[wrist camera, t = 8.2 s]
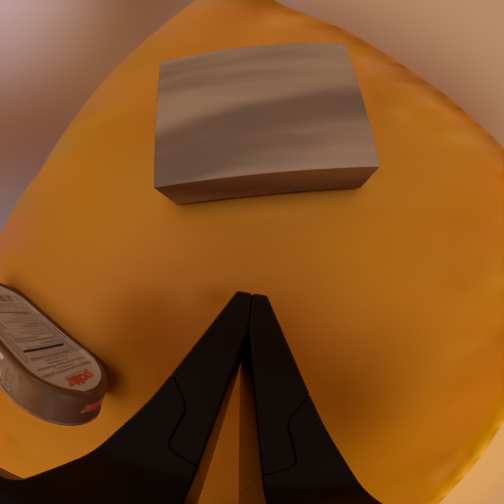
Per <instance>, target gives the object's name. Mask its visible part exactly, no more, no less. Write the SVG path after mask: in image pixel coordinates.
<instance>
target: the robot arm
mask: <svg viewBox="0 0 504 504" xmlns="http://www.w3.org/2000/svg"><path fill="white" fill-rule="evenodd" d="M240 363H241V369H240V433H239V495H240V496H239V504H382V503H380V502H379V501H378V500H376V499H375V498H374V497H372V496H371V495H370V494H369V493H368V492H367V491H366V490H365V489H364V488H363V487H362V486H361V484H360V483H359V482H358V480H357V479H356V478H355V476H354V474H353V473H352V471H351V470H350V468H349V466H348V465H347V463H346V462H345V460H344V458H343V457H342V455H341V454H340V452H339V450H338V449H337V447H336V445H335V444H334V442H333V440H332V439H331V437H330V435H329V433H328V432H327V430H326V428H325V426H324V425H323V422H322V420H321V418H320V416H319V414H318V412H317V410H316V408H315V405H314V403H313V401H312V399H311V397H310V396H308V395H309V392H308V390H307V387H306V385H305V383H304V380H303V378H302V376H301V374H300V371H299V369H298V367H297V364H296V362H295V360H294V357H293V355H292V353H291V350H290V348H289V346H288V343H287V341H286V339H285V337H284V334H283V332H282V330H281V327H280V325H279V323H278V320H277V318H276V316H275V313H274V311H273V309H272V306H271V304H270V302H269V299H268V297H267V296H265V295H259V294H253V295H251V293H247V292H241V291H238V292H236V293H235V295H234V296H233V297H232V299H231V300H230V301H229V302H228V304H227V305H226V306H225V307H224V309H223V310H222V311H221V313H220V314H219V315H218V316H217V318H216V319H215V320H214V321H213V323H212V324H211V325H210V327H209V328H208V329H207V330H206V332H205V333H204V334H203V335H202V337H201V338H200V339H199V340H198V342H197V343H196V344H195V345H194V347H193V348H192V349H191V350H190V352H189V353H188V354H187V355H186V357H185V358H184V359H183V360H182V362H181V363H180V364H179V365H178V367H177V368H176V369H175V370H174V372H173V373H172V375H171V376H169V378H168V379H167V380H166V381H165V383H164V384H163V385H162V386H161V388H160V389H159V390H158V391H157V392H156V393H155V394H154V396H153V397H152V398H151V399H150V400H149V401H148V402H147V403H146V404H145V405H144V406H143V407H142V408H141V409H140V410H139V411H138V412H137V413H136V414H135V415H134V416H133V417H132V418H130V419H129V420H128V421H127V422H126V423H125V424H124V425H123V426H122V427H121V428H120V429H118V430H117V431H116V432H115V433H114V434H113V435H112V436H111V437H110V438H108V439H107V440H106V441H105V442H104V443H103V444H101V445H100V446H99V447H98V448H96V449H95V450H93V451H92V452H90V453H89V454H87V455H85V456H83V457H81V458H78V459H76V460H73V461H71V462H69V463H66V464H64V465H61V466H58V467H56V468H53V469H51V470H48V471H45V472H43V473H40V474H37V475H34V476H31V477H28V478H24V479H23V478H20V477H18V476H16V475H14V474H12V473H10V472H8V471H6V470H4V469H2V468H0V504H197V503H198V500H199V497H200V494H201V489H202V488H203V485H204V482H205V478H206V475H207V472H208V469H209V466H210V463H211V460H212V456H213V453H214V450H215V447H216V444H217V440H218V437H219V434H220V431H221V428H222V424H223V421H224V418H225V414H226V411H227V408H228V405H229V401H230V398H231V395H232V391H233V388H234V385H235V381H236V378H237V375H238V371H239V367H240Z"/></svg>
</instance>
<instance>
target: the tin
mask: <svg viewBox="0 0 504 504" xmlns="http://www.w3.org/2000/svg"><path fill="white" fill-rule="evenodd" d="M107 384H108V381H107V375H106V372H105V370H104V368H103V366H102V365H101V364H100V362H99V361H98V360H97V359H96V358H95V357H94V356H93V355H92V354H91V353H90V352H89V351H88V350H87V349H85V348H84V347H83V346H82V345H80V344H79V343H78V342H77V341H75V340H74V339H73V338H72V337H71V336H69V335H68V334H67V333H66V332H65V331H63V330H62V329H61V328H60V327H59V326H58V325H57V324H55V323H54V322H53V321H52V320H51V319H50V318H49V317H47V316H46V315H45V314H44V313H43V312H42V311H41V310H40V309H39V308H38V307H36V306H35V305H34V304H33V303H32V302H31V301H30V300H29V299H27V298H26V297H25V296H23V295H22V294H20V293H19V292H17V291H15V290H14V289H12V288H10V287H8V286H6V285H3V284H1V283H0V388H1V389H2V390H3V391H4V393H5V394H6V395H7V396H8V397H9V398H10V399H11V400H12V401H13V402H14V403H15V404H16V405H18V406H19V407H20V408H22V409H23V410H25V411H26V412H28V413H29V414H31V415H33V416H35V417H37V418H39V419H42V420H44V421H47V422H50V423H54V424H59V425H66V426H76V425H82V424H86V423H88V422H90V421H92V420H94V419H95V418H96V417H97V416H98V414H99V412H100V409H101V403H102V400H103V398H104V395H105V393H106V389H107Z"/></svg>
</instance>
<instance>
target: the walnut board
mask: <svg viewBox="0 0 504 504" xmlns="http://www.w3.org/2000/svg"><path fill="white" fill-rule="evenodd" d="M378 168H379V162H378V157H377V153H376V148H375V144H374V140H373V136H372V132H371V128H370V124H369V120H368V116H367V112H366V109H365V105H364V102H363V98H362V95H361V91H360V88H359V85H358V82H357V79H356V75H355V72H354V69H353V66H352V63H351V61H350V58H349V55H348V52H347V49H346V47H345V44H338V43H294V44H274V45H261V46H250V47H241V48H233V49H226V50H219V51H212V52H206V53H201V54H195V55H190V56H185V57H180V58H176V59H171V60H167V61H163V62H160V72H159V83H158V95H157V110H156V130H155V163H154V188H155V189H157V190H158V191H159V192H161V193H162V194H164V195H165V196H166V197H168V198H169V199H170V200H172V201H173V202H174V203H176V204H185V203H192V202H200V201H208V200H217V199H226V198H235V197H244V196H254V195H264V194H275V193H286V192H298V191H311V190H326V189H342V188H360V187H361V186H362V185H363V184H364V183H365V182H366V181H367V180H368V179H369V177H370V176H371V175H372V174H373V173H374V172H375V171H376V170H377V169H378Z"/></svg>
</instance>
